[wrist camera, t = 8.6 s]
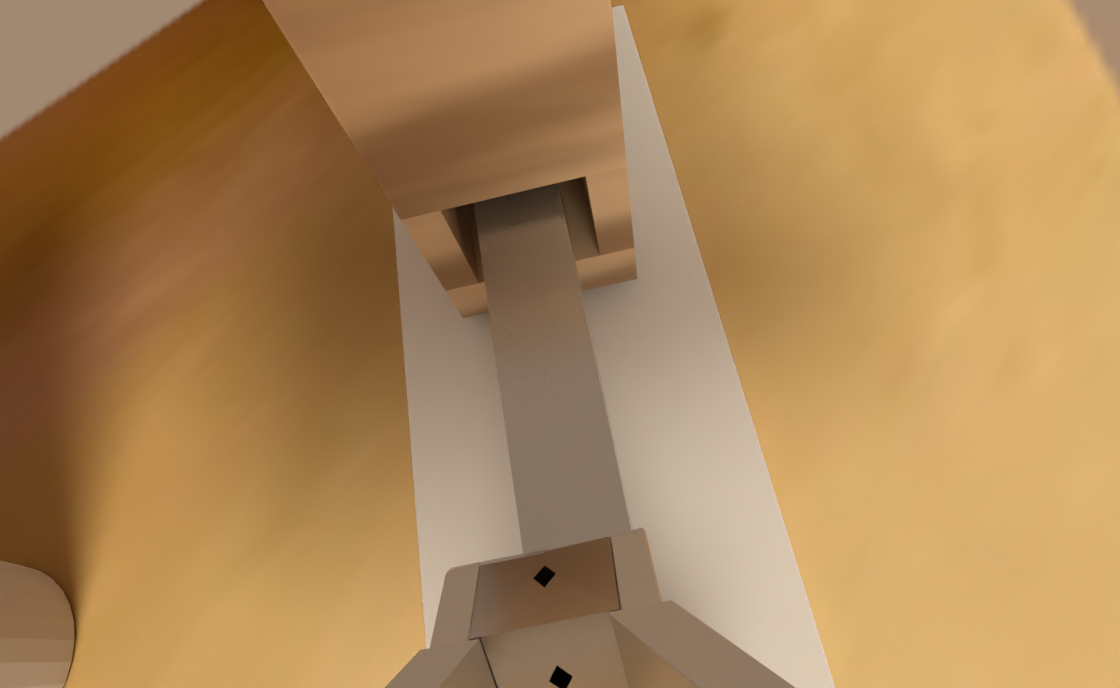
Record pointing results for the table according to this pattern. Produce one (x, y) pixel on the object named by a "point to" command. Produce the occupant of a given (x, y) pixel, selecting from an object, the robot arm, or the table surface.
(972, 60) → the table surface
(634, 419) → the board
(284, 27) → the wooden slider block
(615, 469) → the sliding carriage track
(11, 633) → the coffee cup
